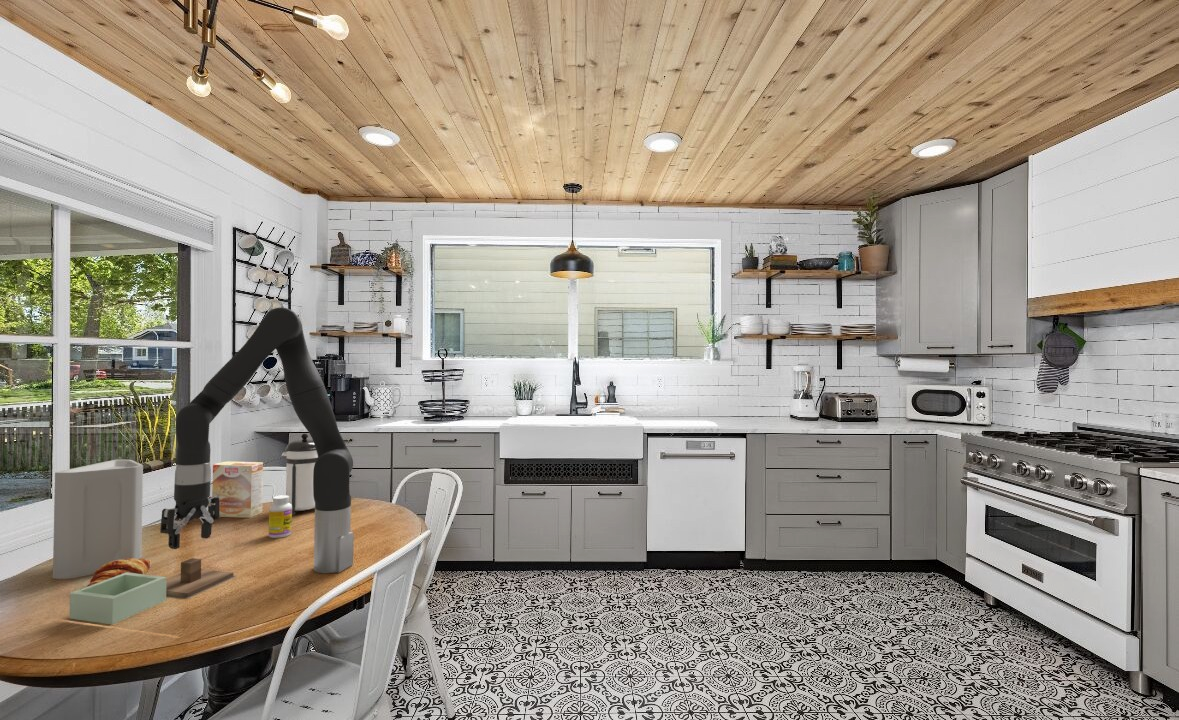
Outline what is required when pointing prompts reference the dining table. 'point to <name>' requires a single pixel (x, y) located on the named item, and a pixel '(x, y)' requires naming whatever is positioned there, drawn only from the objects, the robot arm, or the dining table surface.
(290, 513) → the supplement bottle
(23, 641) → the dining table surface
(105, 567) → the croissant
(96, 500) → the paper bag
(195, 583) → the lid
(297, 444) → the coffee press
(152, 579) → the green box
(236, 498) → the coffeecake box
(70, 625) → the dining table surface
